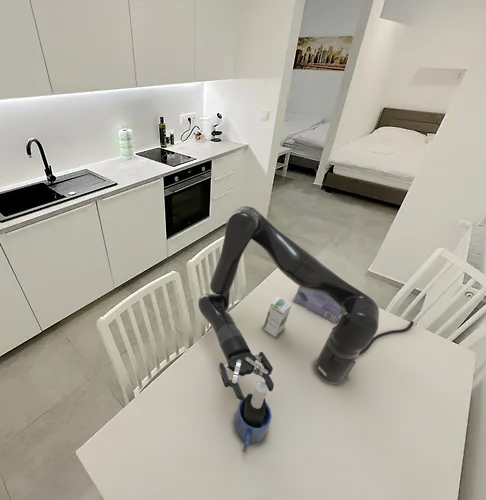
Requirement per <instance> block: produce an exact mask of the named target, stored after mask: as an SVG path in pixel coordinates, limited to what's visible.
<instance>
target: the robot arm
mask: <svg viewBox="0 0 486 500" xmlns="http://www.w3.org/2000/svg"><path fill="white" fill-rule="evenodd" d="M251 240H252V241H253V242H255V243H256V244H257V245H258V246H260V247H261V248H262V249H263V250H264V251H265V252H266V253H267V255H268V256H269V258H270V259H271V261H272V262H273V263H274V264H275V266H276V267H277V268H278V270H279V271H280V272H282V274H283V275H284V276H286V277H287V278H288V279H289V280H290V281H292V282H293V283H295V284H296V285H297V286H298V287H299V286H301V287H303V288H306V289H309V290H313V291H318V292H321V293H324V294H326V295H327V296H329V297H330V298H332V299H333V300H334V301H335V302H337V303H338V304H339V305H340V306H341V308H342V311H341V314H340V316H339V318H338V320H337V322H336V324H335V325H334V326H333V327H332V329H331V331H330V333H329V335H328V337H327V339H326V341H325V343H324V345H323V348H322V349H321V352H320V353H319V355H318V357H317V359H316V361H315V362H314V366H313V367H314V368H313V369H314V372H315V374H316V375H317V376H318V378H319V379H321V380H322V381H323V382H325V383H326V384H330V385H339V384H341V383H342V382H343V380H344V379H346V378H347V377H348V376H349V374H350V372H351V371H352V370H353V368H354V366H355V365H356V359H357V358H358V356H360V355H361V354H363V353H365V352H366V351H368V349H370V347H371V346H372V344H373V343H374V342H375V341H376V340H377V339H379V338H381V337H383V336H387V335H391V334H396V333H404V332H407V331H409V330H410V329H411V328H412V327H413V325H414V324H415V321H413V320H411V321H410V323H409V324H408V325H407V327H405V328H402V329H393V330H392V329H391V330H389V331H384V332H381V333H379V334H377V332H378V329H379V322H380V321H379V320H380V308H379V305H378V304H377V303H376V301H375V300H373V298H372V297H370V296H369V295H367V294H365V292H362V291H361V290H360V289H358V288H356V287H355V286H353V285H352V284H350V283H349V282H347V281H345V280H344V279H342V278H341V277H340V276H339V275H337V274H336V273H335V272H333V271H332V270H331V269H330V268H328V267H327V266H325V265H324V264H323V263H322V262H320V260H318V259H317V258H316V257H314V255H312V254H311V253H309V252H308V251H306V250H305V249H304V248H302V247H301V246H300V245H299V244H297V243H296V242H294V241H293V240H292V239H291V238H289V237H288V236H286V235H285V234H284V233H283V232H281V231H279V229H277V228H276V227H275V226H274V225H273V224H272V223H271V222H270V221H269V220H267V218H265V216H264V215H263V214H261V213H260V211H259V210H258V209H256V208H254V207H253V206H248V205H242V206H240V207H238V208H236V209H234V211H233V212H232V213H230V215H229V217H228V218H227V220H226V226H225V231H224V238H223V243H222V248H221V251H220V255H219V258H218V260H217V263H216V266H215V268H214V271H213V274H212V277H211V280H210V283H209V288H210V291H211V292H213V293H205V294H202V295H200V297H199V299H198V302H197V303H198V304H197V306H198V309H199V312H200V313H201V315H202V316H203V317H204V319H206V321H207V322H208V324H210V325H211V326H212V329H213V331H214V333H215V335H216V338H217V341H218V344H219V348H220V349H221V351H222V353H223V355H224V358H225V360H226V362H227V363H223V362H220V363H219V364H218V371H219V374H220V378H221V381H222V384H223V386H224V387H225V388H232V390H233V393H234V395H235V398H236V399H237V400H238V399H239V402H240V401H241V400H243V399H244V397H245V396H244V393H243V391H242V389H241V387H240V384H239V382H238V379H239V376H240V377H245V376H246V375H251V374H252V373H253V374H254V375H255V376H259V377H261V378H262V379H264V380H265V384H266V385H267V391H268V392H273V391H274V387H275V383H274V382H273V380H272V378H271V376H270V375H272V372H273V370H274V367H273V366H272V364H271V363H270V361H269V359H268V357H267V356H266V355H265V354H264V351H259V352H258V354H253V353H252V351H251V349H250V347H249V345H248V344H247V341H246V340H245V337H244V335H243V334H242V332H241V330H240V329H239V328H238V326H237V325H236V322H235V320H234V319H233V317H232V315H231V313H228V312H227V311H228V310H229V308H230V297H231V289H232V286H233V284H234V281H235V279H236V276H237V273H238V269H239V264H240V261H241V258H242V256H243V254H244V252H245V250H246V249H247V246H248V245H249V243H250V242H251ZM376 334H377V335H376ZM256 361H257V362H256ZM259 363H260V364H259ZM228 369H229V370H230V371H232V373H233V375H232V378H231V379H229V376H228V373H227V372H228Z"/></svg>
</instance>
